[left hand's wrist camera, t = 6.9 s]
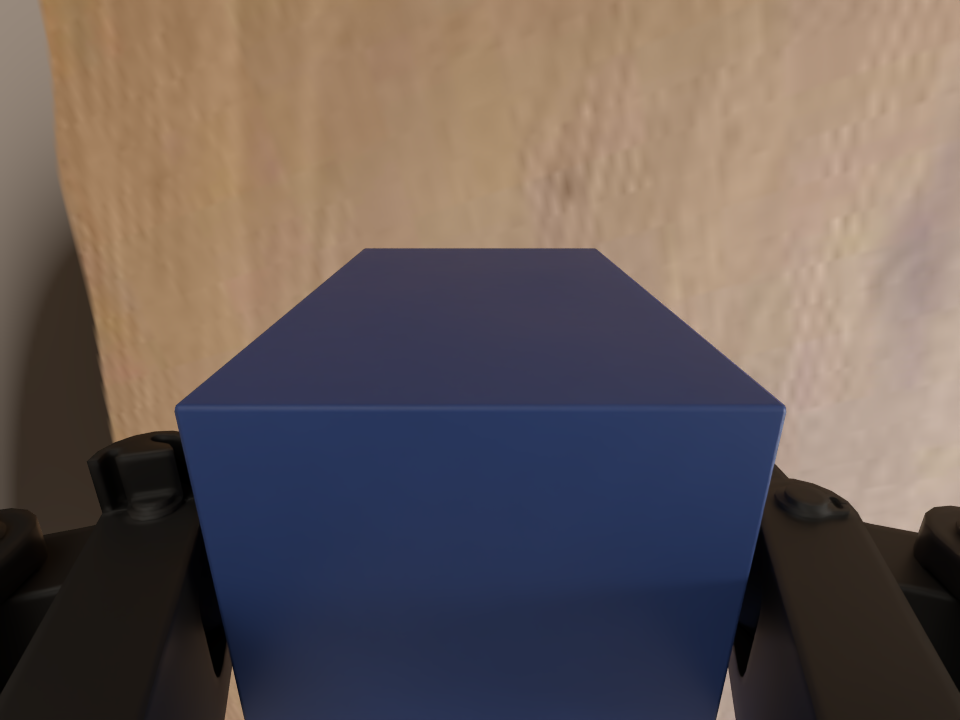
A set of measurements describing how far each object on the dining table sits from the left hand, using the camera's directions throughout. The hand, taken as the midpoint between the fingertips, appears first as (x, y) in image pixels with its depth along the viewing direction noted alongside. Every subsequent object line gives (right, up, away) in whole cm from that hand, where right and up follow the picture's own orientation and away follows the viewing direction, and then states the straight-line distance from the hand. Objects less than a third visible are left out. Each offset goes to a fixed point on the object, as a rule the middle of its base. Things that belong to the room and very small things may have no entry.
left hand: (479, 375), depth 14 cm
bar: (0, -8, +4) cm, 9 cm away
